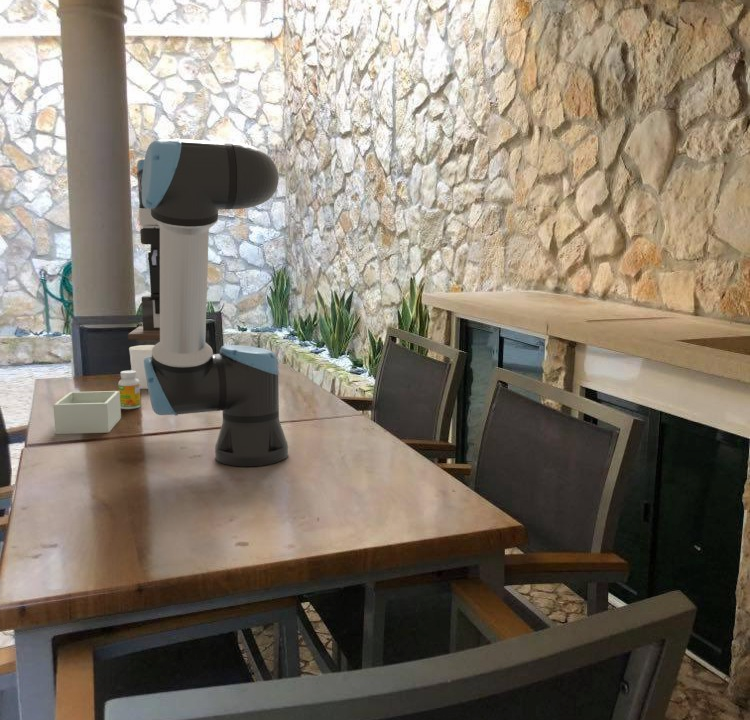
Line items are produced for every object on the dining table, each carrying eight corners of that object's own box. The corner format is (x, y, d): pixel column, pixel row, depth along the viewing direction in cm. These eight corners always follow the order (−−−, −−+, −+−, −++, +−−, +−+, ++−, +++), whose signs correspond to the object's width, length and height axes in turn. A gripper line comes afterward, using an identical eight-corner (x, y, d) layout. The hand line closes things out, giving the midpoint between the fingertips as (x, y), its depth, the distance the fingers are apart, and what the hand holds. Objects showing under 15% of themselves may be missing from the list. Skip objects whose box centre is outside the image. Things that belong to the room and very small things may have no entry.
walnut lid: (185, 341, 174) (183, 298, 172) (128, 342, 172) (126, 299, 171) (192, 333, 189) (190, 293, 187) (139, 334, 187) (137, 294, 185)
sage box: (108, 432, 176) (107, 403, 175) (55, 434, 174) (53, 404, 173) (121, 417, 189) (119, 390, 188) (71, 419, 188) (69, 392, 187)
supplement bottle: (115, 408, 199) (113, 373, 198) (126, 404, 204) (124, 369, 203) (133, 410, 198) (131, 374, 196) (144, 405, 203) (142, 370, 202)
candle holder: (131, 383, 232) (129, 345, 230) (163, 382, 235) (162, 344, 233) (130, 390, 223) (128, 350, 220) (165, 388, 225) (163, 349, 223)
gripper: (168, 227, 169) (172, 330, 173) (177, 227, 184) (181, 322, 188) (133, 227, 168) (139, 330, 172) (146, 227, 184) (150, 322, 187)
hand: (161, 326), depth 180 cm, fingers closed on walnut lid, 3 cm apart
